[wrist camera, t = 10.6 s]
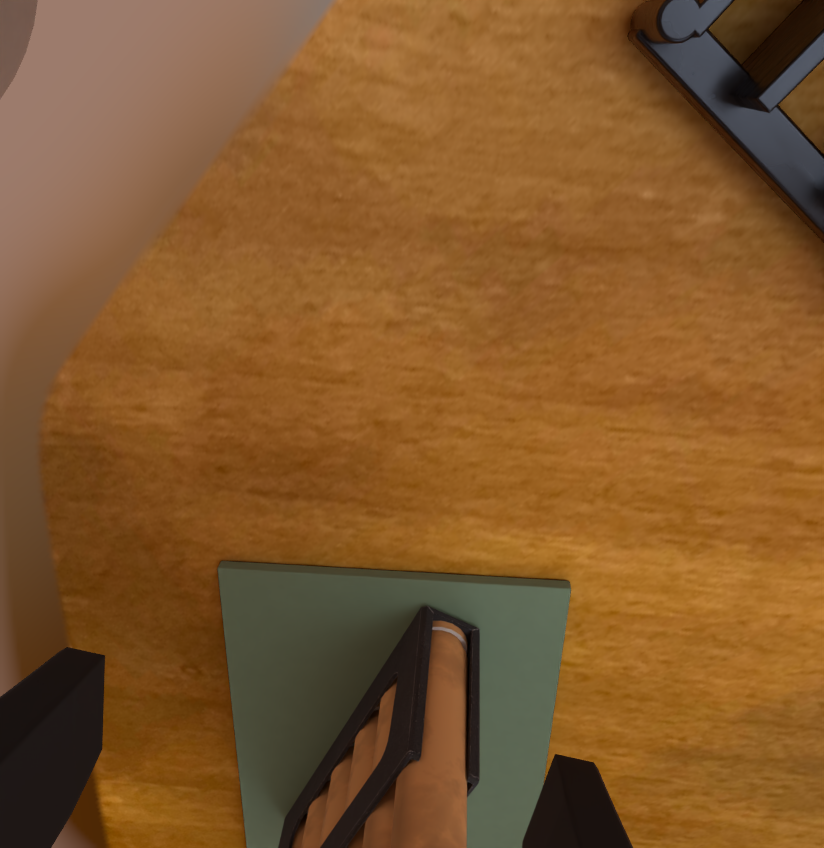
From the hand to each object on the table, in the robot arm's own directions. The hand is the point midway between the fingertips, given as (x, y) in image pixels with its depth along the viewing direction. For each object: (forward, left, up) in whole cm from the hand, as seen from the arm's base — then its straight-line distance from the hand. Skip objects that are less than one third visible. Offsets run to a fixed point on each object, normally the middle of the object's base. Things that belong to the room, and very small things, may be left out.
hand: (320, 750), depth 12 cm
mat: (+7, -8, -9) cm, 14 cm away
